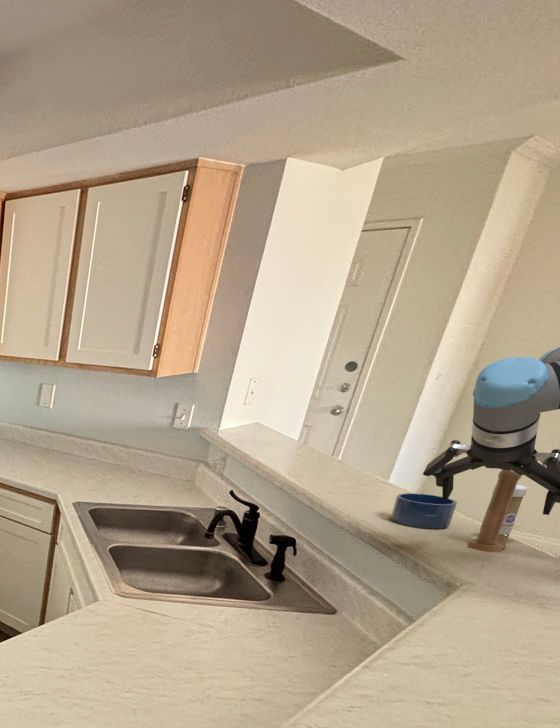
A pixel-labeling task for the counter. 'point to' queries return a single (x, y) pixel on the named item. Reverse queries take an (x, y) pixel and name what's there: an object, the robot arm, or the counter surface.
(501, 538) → the sprinkles bottle
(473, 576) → the counter surface
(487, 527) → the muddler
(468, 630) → the counter surface
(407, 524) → the bowl
